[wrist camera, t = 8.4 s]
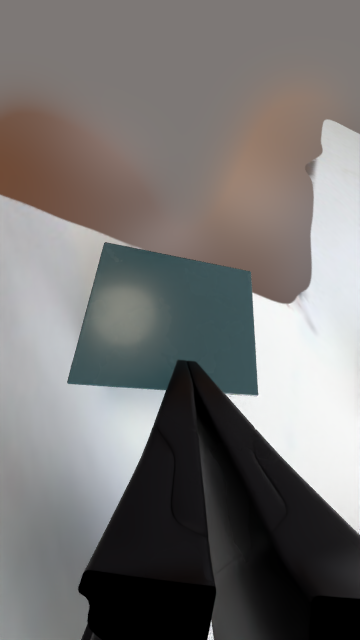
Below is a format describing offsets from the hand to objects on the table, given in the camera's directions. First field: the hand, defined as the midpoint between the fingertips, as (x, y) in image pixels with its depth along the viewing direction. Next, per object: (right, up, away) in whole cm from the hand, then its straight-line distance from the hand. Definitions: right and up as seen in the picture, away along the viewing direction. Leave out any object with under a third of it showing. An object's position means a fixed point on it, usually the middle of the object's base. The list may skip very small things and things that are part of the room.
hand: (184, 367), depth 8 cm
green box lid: (0, +2, +5) cm, 5 cm away
